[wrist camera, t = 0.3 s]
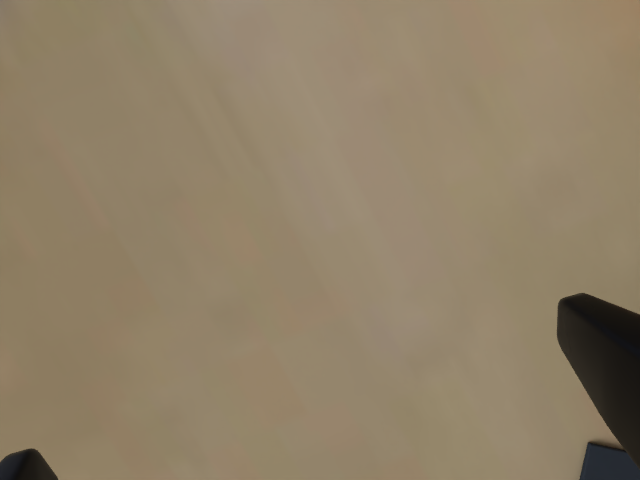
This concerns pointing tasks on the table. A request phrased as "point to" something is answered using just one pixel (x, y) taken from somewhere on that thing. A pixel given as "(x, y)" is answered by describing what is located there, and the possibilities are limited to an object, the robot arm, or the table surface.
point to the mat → (608, 464)
